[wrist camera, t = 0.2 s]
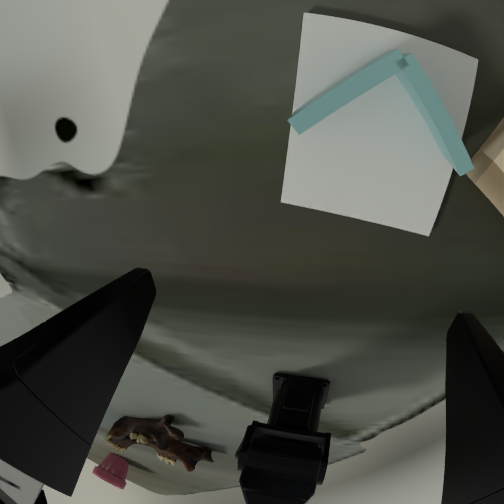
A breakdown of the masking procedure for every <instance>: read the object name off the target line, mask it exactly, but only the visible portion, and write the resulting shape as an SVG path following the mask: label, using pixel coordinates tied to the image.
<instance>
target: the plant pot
mask: <svg viewBox="0 0 504 504" xmlns="http://www.w3.org/2000/svg"><path fill="white" fill-rule="evenodd" d="M128 465H129V463H128V462H127V461H126V460H124V459H122V458H121V457H119V456H117V455H115V454H113V453H109V454H108V455H107V456H106V458H105V459H104V460H103V461H102V462H101V463H100V464H99V466H98V467H96V466H95V468H94V470H93V474H95V475H96V476H98V477H100V478H101V479H103V480H105V481H106V482H108V483H110V484H112V485H114V486H116V487H118V488H120V489H124V487H125V485H126V482H125V479H126V475H127V470H128Z"/></svg>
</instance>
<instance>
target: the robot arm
mask: <svg viewBox="0 0 504 504" xmlns="http://www.w3.org/2000/svg"><path fill="white" fill-rule="evenodd" d="M155 296H156V288H155V285H154V281H153V278H152V275H151V272H150V271H149V270H148V269H144V268H135V269H133V270H131V271H130V272H128V273H126V274H124V275H123V276H121V277H119V278H117V279H116V280H114V281H112V282H110V283H109V284H107V285H105V286H104V287H102V288H100V289H98V290H97V291H95V292H93V293H92V294H90V295H88V296H86V297H85V298H83V299H81V300H80V301H78V302H76V303H75V304H73V305H71V306H70V307H68V308H66V309H65V310H63V311H61V312H60V313H58V314H56V315H55V316H53V317H51V318H50V319H48V320H46V322H43V323H41V324H40V325H38V326H37V327H35V328H33V329H32V330H30V331H28V332H27V333H25V334H23V335H21V336H20V337H18V338H16V339H14V340H12V341H10V342H8V343H6V344H5V345H3V346H1V347H0V504H47V500H46V497H45V493H44V491H43V490H42V488H43V485H44V484H45V485H47V486H49V487H51V488H53V489H55V490H57V491H59V492H61V493H63V494H65V495H68V496H70V497H71V496H72V494H73V491H74V489H75V486H76V483H77V481H78V478H79V476H80V473H81V471H82V468H83V466H84V463H85V460H86V458H87V456H88V453H89V451H90V448H91V445H92V443H93V441H94V438H95V436H96V434H97V431H98V429H99V427H100V424H101V422H102V420H103V417H104V415H105V413H106V410H107V408H108V406H109V404H110V401H111V399H112V397H113V395H114V392H115V390H116V388H117V386H118V384H119V381H120V379H121V377H122V375H123V373H124V371H125V369H126V366H127V364H128V362H129V360H130V358H131V356H132V354H133V352H134V350H135V347H136V345H137V343H138V341H139V339H140V337H141V334H142V332H143V329H144V326H145V323H146V321H147V318H148V315H149V312H150V310H151V307H152V304H153V302H154V299H155ZM329 386H330V381H328V380H322V379H314V378H306V377H299V376H292V375H285V374H278V373H276V374H274V376H273V404H272V408H271V411H270V415H269V419H268V422H267V424H265V423H260V422H258V421H254V420H253V423H252V425H249V426H248V427H247V430H246V433H245V436H244V438H243V440H242V442H241V444H240V446H239V448H238V450H237V451H236V454H235V457H236V459H237V460H238V471H240V472H241V476H240V479H239V482H240V485H241V489H242V492H243V495H244V499H245V502H246V504H307V503H308V501H309V500H310V499H311V497H312V496H313V495H314V493H315V489H316V485H322V482H323V480H324V477H325V473H326V469H327V464H328V457H329V448H330V438H331V433H327V432H326V433H321V432H317V431H318V426H319V420H320V414H321V409H323V408H324V405H325V402H326V398H327V394H328V390H329ZM445 392H446V454H445V471H444V484H443V494H442V503H441V504H504V353H503V351H502V350H501V349H500V347H499V346H498V345H497V343H496V342H495V341H494V339H493V338H492V337H491V336H490V334H489V333H488V332H487V330H486V329H485V328H484V327H483V325H482V324H481V323H480V322H479V320H478V319H477V318H476V317H475V316H474V314H473V313H471V312H463V311H460V312H458V313H457V315H456V317H455V319H454V321H453V322H452V324H451V326H450V328H449V330H448V333H447V339H446V380H445Z"/></svg>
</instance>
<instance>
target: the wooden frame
mask: <svg viewBox="0 0 504 504" xmlns="http://www.w3.org/2000/svg"><path fill="white" fill-rule="evenodd" d="M471 162H472V164H473V166H474V169H473V170H471V171H469V172H467V173H466V174H467V175H468V177H469V178H470V179H471V180H472V181H473V182H474V184H475V185H476V186H477V187H478V188H479V189H480V190H481V191H482V192H483V193H484V194H485V195H486V197H487V198H488V199H489V200H490V201H491V202H492V203H493V204H494V205H495V207H496V208H497V209H498V210H499V211H500V212H501V214H502V215H503V216H504V118H503V119H502V120H501V122H500V123H499V124H498V126H497V127H496V128H495V130H494V131H493V132H492V133H491V135H490V136H489V137H488V139H487V140H486V141H485V142H484V144H483V145H482V146H481V147H480V149H479V150H478V151H477V152H476V154H475V155H474V156H473V157H472V159H471Z"/></svg>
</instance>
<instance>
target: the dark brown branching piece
mask: <svg viewBox="0 0 504 504" xmlns="http://www.w3.org/2000/svg"><path fill="white" fill-rule="evenodd" d="M173 419H174V417H172V416H170V415H167V416H164V417H163V418H162V419H161V420H160V421H159V422H156V421H153V420H149V419H133V418H131V417H122V418H120V419H119V420H117V421H116V422H115V423H114V424H113V426H112V428H111V430H110V431H109V432H108V434H107V435H105V439H104V440H103V441H105V443H104V444H106V443H108V444H112V445H113V447H116V451H117V450H118V449H121V454H123V452H124V451H125V450H126V449H127V448H128V447H130V446H131V445H132V444H144V445H147V446H150V447H153V448H154V449H155V450H156V453H157V457H158V458H160V460H161V461H163V460H164V461H166V463H167V464H170V463H171V464H172V465H173V466H176V459H179V460H180V461H182V462H183V464H184V466H185V468H186V469H187V470H188V471H189V472H191V471H193V470H194V469H195V465H196V463H197V462H198V461H200V460H203V461H208V462H214V461H213V460H212V457H211V453H212V450H211V449H210V448H202V447H197V446H192V445H189V444H186V443H184V442H182V441H180V440H181V439H183V438H184V434H183V432H182V431H181V430H179V429H178V428H175V427H173V426H170V425H171V422H172V420H173Z"/></svg>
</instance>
